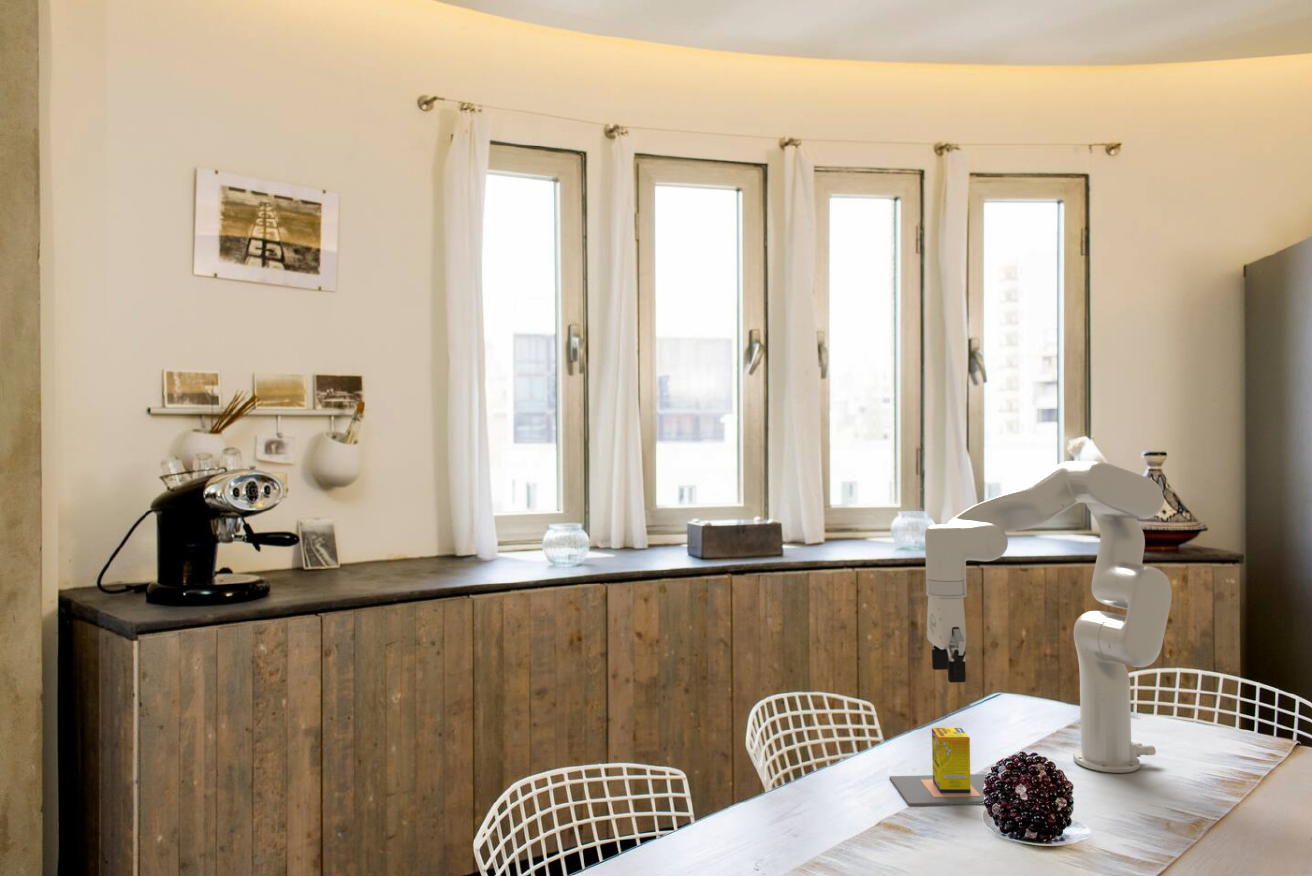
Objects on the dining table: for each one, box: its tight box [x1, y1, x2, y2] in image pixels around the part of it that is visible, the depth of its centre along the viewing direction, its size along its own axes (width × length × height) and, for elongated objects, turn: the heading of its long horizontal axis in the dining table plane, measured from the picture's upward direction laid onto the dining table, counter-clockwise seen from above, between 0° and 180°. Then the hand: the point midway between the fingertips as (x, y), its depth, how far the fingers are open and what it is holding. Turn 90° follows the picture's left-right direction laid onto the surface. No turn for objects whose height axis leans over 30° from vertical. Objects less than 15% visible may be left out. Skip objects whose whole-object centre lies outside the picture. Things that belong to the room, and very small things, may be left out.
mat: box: [889, 773, 986, 807], centre depth 183 cm, size 20×14×1 cm
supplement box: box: [931, 727, 971, 793], centre depth 183 cm, size 6×6×11 cm
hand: (948, 675), depth 183 cm, fingers open, 9 cm apart
